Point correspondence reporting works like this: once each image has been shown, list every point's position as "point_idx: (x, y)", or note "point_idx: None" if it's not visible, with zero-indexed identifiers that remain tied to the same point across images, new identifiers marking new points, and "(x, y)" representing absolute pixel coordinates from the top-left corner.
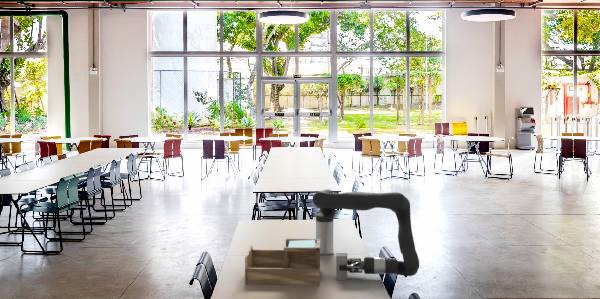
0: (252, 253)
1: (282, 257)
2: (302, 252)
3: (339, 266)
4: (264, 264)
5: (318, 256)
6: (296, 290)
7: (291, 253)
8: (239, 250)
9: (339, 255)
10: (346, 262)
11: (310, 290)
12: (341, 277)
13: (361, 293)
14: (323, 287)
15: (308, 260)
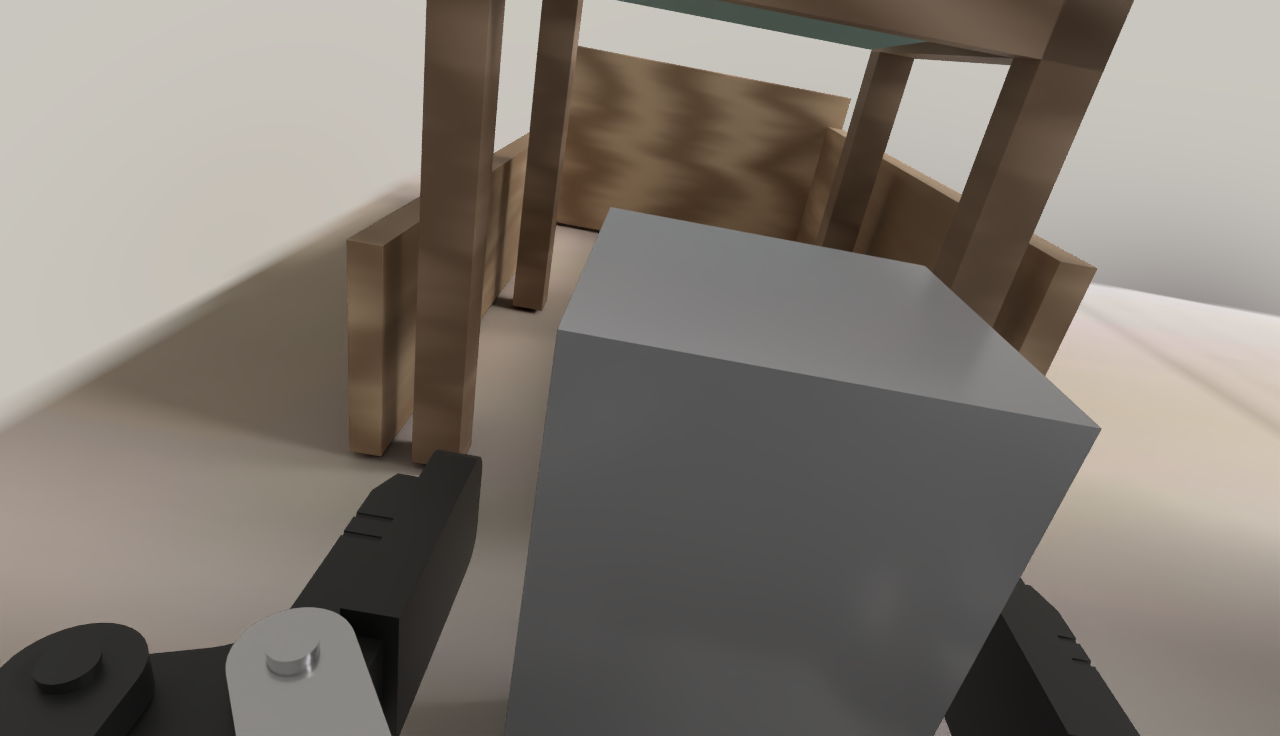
0: (816, 151)
1: (861, 228)
2: (939, 222)
3: (439, 457)
4: None
5: (430, 43)
6: (292, 310)
7: (896, 207)
8: (1134, 299)
9: (670, 243)
10: (529, 550)
11: (215, 369)
12: None
13: None
14: (236, 475)
15: None
